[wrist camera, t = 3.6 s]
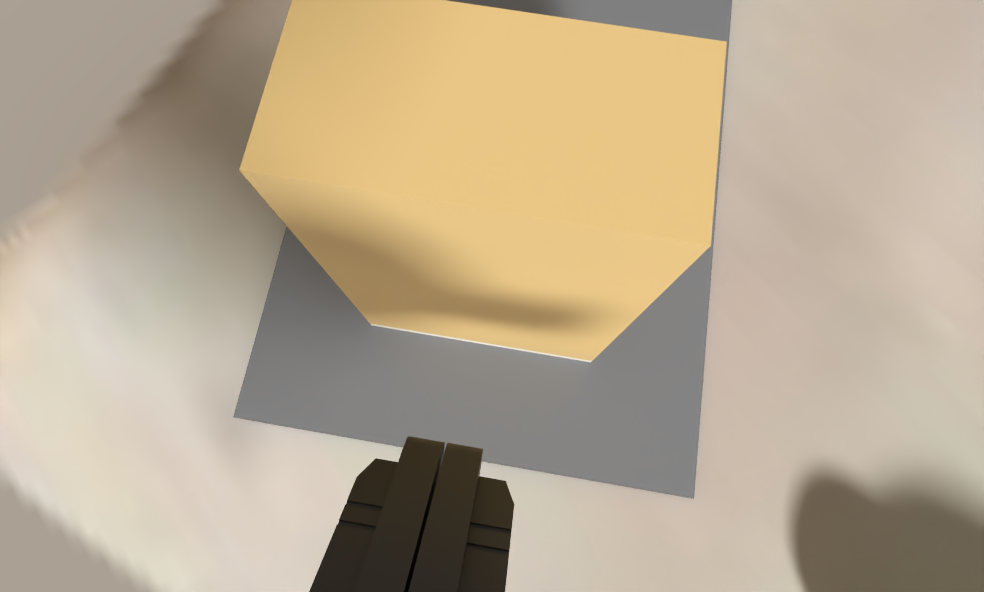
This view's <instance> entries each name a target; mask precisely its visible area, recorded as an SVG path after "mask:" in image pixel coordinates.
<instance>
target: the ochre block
mask: <svg viewBox="0 0 984 592" xmlns="http://www.w3.org/2000/svg"><path fill="white" fill-rule="evenodd" d="M726 44H727V42H726V41H719V40H712V39H705V38H699V37H692V36H685V35H678V34H671V33H664V32H658V31H651V30H644V29H637V28H630V27H624V26H617V25H610V24H603V23H596V22H590V21H583V20H576V19H569V18H562V17H555V16H549V15H542V14H535V13H528V12H521V11H515V10H508V9H501V8H494V7H487V6H481V5H474V4H467V3H460V2H453V1H447V0H292V2H291V5H290V8H289V12H288V15H287V18H286V21H285V24H284V28H283V31H282V34H281V37H280V40H279V44H278V47H277V50H276V53H275V56H274V60H273V63H272V66H271V69H270V72H269V76H268V79H267V82H266V85H265V89H264V92H263V95H262V98H261V101H260V105H259V108H258V111H257V114H256V117H255V121H254V124H253V127H252V130H251V133H250V137H249V140H248V143H247V146H246V150H245V153H244V156H243V159H242V162H241V166H240V169H239V171H240V172H241V173H242V174H243V175H244V176H245V178H246V179H247V180H248V181H249V182H250V183H251V185H252V186H253V187H254V188H255V189H256V191H257V192H258V193H259V194H260V195H261V196H262V198H263V199H264V200H265V201H266V202H267V203H268V205H269V206H270V207H271V208H272V209H273V210H274V212H275V213H276V214H277V215H278V216H279V217H280V219H281V220H282V221H283V222H284V223H285V224H286V226H287V227H288V228H289V229H290V230H291V232H292V233H293V234H294V235H295V236H296V237H297V239H298V240H299V241H300V242H301V243H302V244H303V246H304V247H305V248H306V249H307V250H308V251H309V253H310V254H311V255H312V256H313V257H314V258H315V260H316V261H317V262H318V263H319V264H320V265H321V267H322V268H323V269H324V270H325V271H326V273H327V274H328V275H329V276H330V277H331V278H332V280H333V281H334V282H335V283H336V284H337V285H338V287H339V288H340V289H341V290H342V291H343V292H344V294H345V295H346V296H347V297H348V298H349V299H350V301H351V302H352V303H353V304H354V305H355V307H356V308H357V309H358V310H359V311H360V312H361V314H362V315H363V316H364V317H365V318H366V319H367V321H368V322H369V323H370V324H371V325H373V326H379V327H385V328H391V329H396V330H402V331H408V332H414V333H420V334H426V335H432V336H438V337H444V338H450V339H456V340H461V341H467V342H473V343H479V344H485V345H491V346H497V347H503V348H509V349H515V350H521V351H527V352H532V353H538V354H544V355H550V356H556V357H562V358H568V359H574V360H580V361H586V362H592V361H593V360H594V359H595V358H596V357H597V356H598V355H599V354H600V353H601V352H602V351H603V350H604V349H605V348H606V347H607V346H608V345H609V344H610V343H611V342H612V341H613V340H614V339H615V338H616V337H617V336H618V335H619V334H621V333H622V332H623V331H624V330H625V329H626V328H627V327H628V326H629V325H630V324H631V323H632V322H633V321H634V320H635V319H636V318H637V317H638V316H639V315H640V314H641V313H642V312H643V311H644V310H645V309H646V308H647V307H648V306H649V305H650V304H651V303H652V302H653V301H654V300H656V299H657V298H658V297H659V296H660V295H661V294H662V293H663V292H664V291H665V290H666V289H667V288H668V287H669V286H670V285H671V284H672V283H673V282H674V281H675V280H676V279H677V278H678V277H679V276H680V275H681V274H682V273H683V272H684V271H685V270H686V269H687V268H688V267H689V266H690V265H692V264H693V263H694V262H695V261H696V260H697V259H698V258H699V257H700V256H701V255H702V254H703V253H704V252H705V251H706V250H707V249H708V248H709V247H710V246H711V238H712V225H713V212H714V199H715V186H716V173H717V160H718V147H719V135H720V122H721V109H722V96H723V83H724V70H725V57H726Z"/></svg>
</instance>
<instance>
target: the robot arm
mask: <svg viewBox="0 0 984 592" xmlns="http://www.w3.org/2000/svg"><path fill="white" fill-rule="evenodd" d="M444 448H445V442H440V441H434V440H429V439H423V438H417V437H411V436H408V437H407V439H406V442H405V444H404V447H403V450H402V453H401V456H400V459H399V462H393V461H387V460H382V459H375V460H374V461H373V462H372V463H371V464H370V465H369V466H368V467H367V468H366V469H365V470H364V471H363V472H361V473H360V474H359V475H358V476H357V478H356V480H355V483H354V485H353V488H352V490H351V492H350V495H349V497H348V500H347V504H346V505H345V507H344V509H343V512H342V514H341V517H340V519H339V523H338V525H337V526H336V529H335V531H334V533H333V536H332V538H331V541H330V543H329V546H328V548H327V550H326V553H325V555H324V558H323V560H322V562H321V565H320V567H319V570H318V572H317V574H316V577H315V579H314V582H313V584H312V587H311V589H310V591H309V592H505V586H506V576H507V567H508V557H509V548H510V538H511V529H512V519H513V510H514V503H513V500H512V497H511V495H510V492H509V489H508V486H507V484H506V481H502V480H497V479H491V478H485V477H480V476H479V475H480V468H481V462H482V455H483V449H482V448H476V447H470V446H464V445H459V444H453V443H447V445H446V448H445V452H444Z"/></svg>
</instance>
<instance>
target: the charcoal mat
mask: <svg viewBox="0 0 984 592" xmlns="http://www.w3.org/2000/svg"><path fill="white" fill-rule="evenodd" d="M447 1H453V2H460V3H467V4H474V5H481V6H487V7H494V8H501V9H508V10H515V11H521V12H528V13H535V14H542V15H549V16H555V17H562V18H569V19H576V20H583V21H590V22H596V23H603V24H610V25H617V26H624V27H630V28H637V29H644V30H651V31H658V32H664V33H671V34H678V35H685V36H692V37H699V38H705V39H712V40H719V41H726V42H727V44H726V57H725V70H724V83H723V96H722V109H721V122H720V135H719V147H718V160H717V173H716V186H715V199H714V212H713V225H712V238H711V246H710V247H709V248H708V249H707V250H706V251H705V252H704V253H703V254H702V255H701V256H700V257H699V258H698V259H697V260H696V261H695V262H694V263H693V264H692V265H690V266H689V267H688V268H687V269H686V270H685V271H684V272H683V273H682V274H681V275H680V276H679V277H678V278H677V279H676V280H675V281H674V282H673V283H672V284H671V285H670V286H669V287H668V288H667V289H666V290H665V291H664V292H663V293H662V294H661V295H660V296H659V297H658V298H657V299H656V300H654V301H653V302H652V303H651V304H650V305H649V306H648V307H647V308H646V309H645V310H644V311H643V312H642V313H641V314H640V315H639V316H638V317H637V318H636V319H635V320H634V321H633V322H632V323H631V324H630V325H629V326H628V327H627V328H626V329H625V330H624V331H623V332H622V333H621V334H619V335H618V336H617V337H616V338H615V339H614V340H613V341H612V342H611V343H610V344H609V345H608V346H607V347H606V348H605V349H604V350H603V351H602V352H601V353H600V354H599V355H598V356H597V357H596V358H595V359H594V360H593V361H592V362H586V361H580V360H574V359H568V358H562V357H556V356H550V355H544V354H538V353H532V352H527V351H521V350H515V349H509V348H503V347H497V346H491V345H485V344H479V343H473V342H467V341H461V340H456V339H450V338H444V337H438V336H432V335H426V334H420V333H414V332H408V331H402V330H396V329H391V328H385V327H379V326H373V325H371V324H370V323H369V322H368V321H367V319H366V318H365V317H364V316H363V315H362V314H361V312H360V311H359V310H358V309H357V308H356V307H355V305H354V304H353V303H352V302H351V301H350V299H349V298H348V297H347V296H346V295H345V294H344V292H343V291H342V290H341V289H340V288H339V287H338V285H337V284H336V283H335V282H334V281H333V280H332V278H331V277H330V276H329V275H328V274H327V273H326V271H325V270H324V269H323V268H322V267H321V265H320V264H319V263H318V262H317V261H316V260H315V258H314V257H313V256H312V255H311V254H310V253H309V251H308V250H307V249H306V248H305V247H304V246H303V244H302V243H301V242H300V241H299V240H298V239H297V237H296V236H295V235H294V234H293V233H292V232H291V230H290V229H289V228H288V227H287V228H286V231H285V235H284V238H283V242H282V245H281V249H280V253H279V256H278V260H277V263H276V267H275V270H274V274H273V278H272V281H271V285H270V288H269V292H268V295H267V299H266V303H265V306H264V310H263V313H262V317H261V320H260V324H259V328H258V331H257V335H256V338H255V342H254V345H253V349H252V352H251V356H250V360H249V363H248V367H247V370H246V374H245V377H244V381H243V385H242V388H241V392H240V395H239V399H238V402H237V406H236V410H235V413H234V417H235V418H241V419H246V420H252V421H258V422H263V423H269V424H275V425H280V426H286V427H292V428H297V429H303V430H309V431H314V432H320V433H326V434H331V435H337V436H342V437H348V438H354V439H359V440H365V441H371V442H376V443H382V444H388V445H393V446H399V447H404V444H405V442H406V439H407V437H408V436H411V437H417V438H423V439H429V440H434V441H440V442H445V448H446V445H447V443H453V444H459V445H464V446H470V447H476V448H482V449H483V455H482V461H484V462H490V463H495V464H501V465H507V466H512V467H518V468H523V469H529V470H535V471H540V472H546V473H552V474H557V475H563V476H569V477H574V478H580V479H586V480H591V481H597V482H603V483H608V484H614V485H620V486H625V487H631V488H637V489H642V490H648V491H654V492H659V493H665V494H671V495H676V496H682V497H687V498H693V499H694V491H695V478H696V465H697V452H698V439H699V425H700V412H701V399H702V386H703V373H704V360H705V347H706V334H707V321H708V308H709V295H710V282H711V269H712V256H713V242H714V229H715V216H716V203H717V190H718V177H719V164H720V151H721V138H722V125H723V112H724V99H725V86H726V73H727V59H728V46H729V33H730V20H731V7H732V0H447ZM445 448H444V452H445Z"/></svg>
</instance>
